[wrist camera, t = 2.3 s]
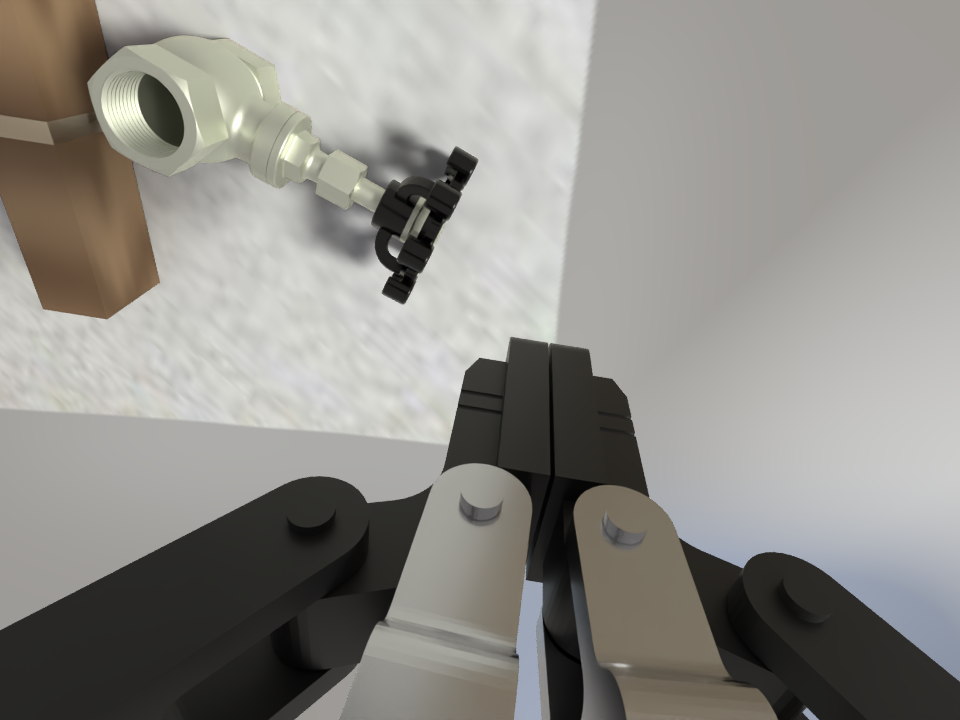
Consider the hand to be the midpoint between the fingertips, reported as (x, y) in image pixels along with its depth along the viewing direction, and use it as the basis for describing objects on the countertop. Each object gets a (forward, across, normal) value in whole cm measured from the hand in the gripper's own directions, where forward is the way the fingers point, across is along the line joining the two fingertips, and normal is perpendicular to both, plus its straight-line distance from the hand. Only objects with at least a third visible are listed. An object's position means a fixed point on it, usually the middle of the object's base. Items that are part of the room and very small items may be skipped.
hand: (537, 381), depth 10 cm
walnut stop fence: (+15, +20, 0) cm, 25 cm away
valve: (+15, +9, 0) cm, 18 cm away
